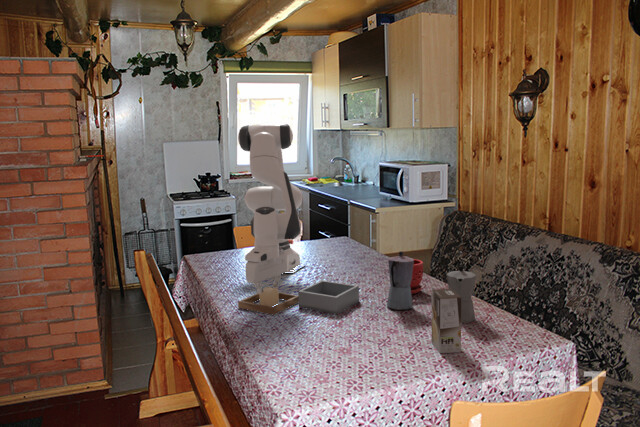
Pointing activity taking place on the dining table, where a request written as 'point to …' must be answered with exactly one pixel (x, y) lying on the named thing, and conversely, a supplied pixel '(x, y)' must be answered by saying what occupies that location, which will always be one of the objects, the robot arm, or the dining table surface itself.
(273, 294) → the tan block
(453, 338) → the coffee box
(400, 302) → the moka pot
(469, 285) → the coffeepot
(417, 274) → the plant pot
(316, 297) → the bin
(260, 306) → the frame
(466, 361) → the dining table surface
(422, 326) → the dining table surface
